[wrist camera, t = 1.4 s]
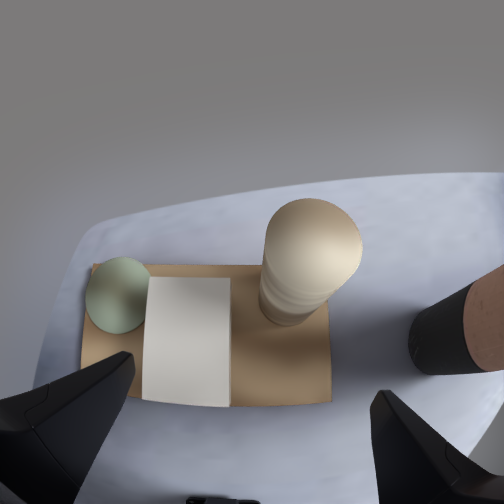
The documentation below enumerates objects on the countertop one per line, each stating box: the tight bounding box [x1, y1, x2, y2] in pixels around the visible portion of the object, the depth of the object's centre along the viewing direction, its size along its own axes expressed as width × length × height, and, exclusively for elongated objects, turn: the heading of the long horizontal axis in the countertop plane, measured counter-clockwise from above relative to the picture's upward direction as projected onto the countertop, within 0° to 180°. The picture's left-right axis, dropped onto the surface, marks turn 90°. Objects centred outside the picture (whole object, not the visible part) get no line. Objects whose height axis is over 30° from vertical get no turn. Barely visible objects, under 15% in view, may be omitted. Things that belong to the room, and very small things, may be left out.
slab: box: [142, 277, 232, 407], centre depth 20 cm, size 9×6×4 cm, turn 0°
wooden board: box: [81, 257, 332, 406], centre depth 22 cm, size 13×22×2 cm, turn 90°
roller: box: [258, 198, 362, 327], centre depth 18 cm, size 5×5×11 cm
